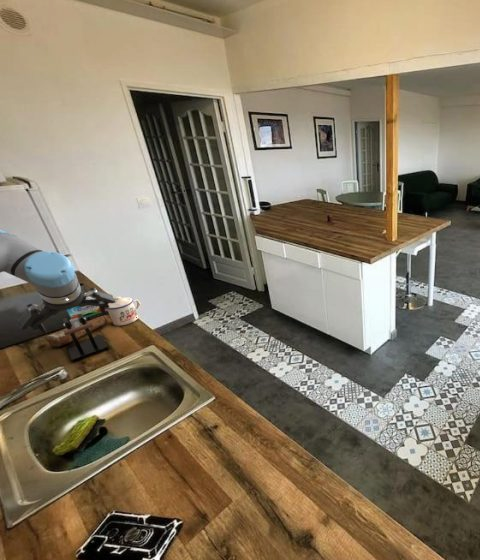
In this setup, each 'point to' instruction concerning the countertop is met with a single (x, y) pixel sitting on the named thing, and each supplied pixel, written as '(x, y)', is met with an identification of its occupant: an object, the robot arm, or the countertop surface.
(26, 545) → the countertop surface
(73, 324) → the slicer arm
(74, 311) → the blue printed flat box
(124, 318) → the teacup with lid
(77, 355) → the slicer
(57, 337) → the bread
